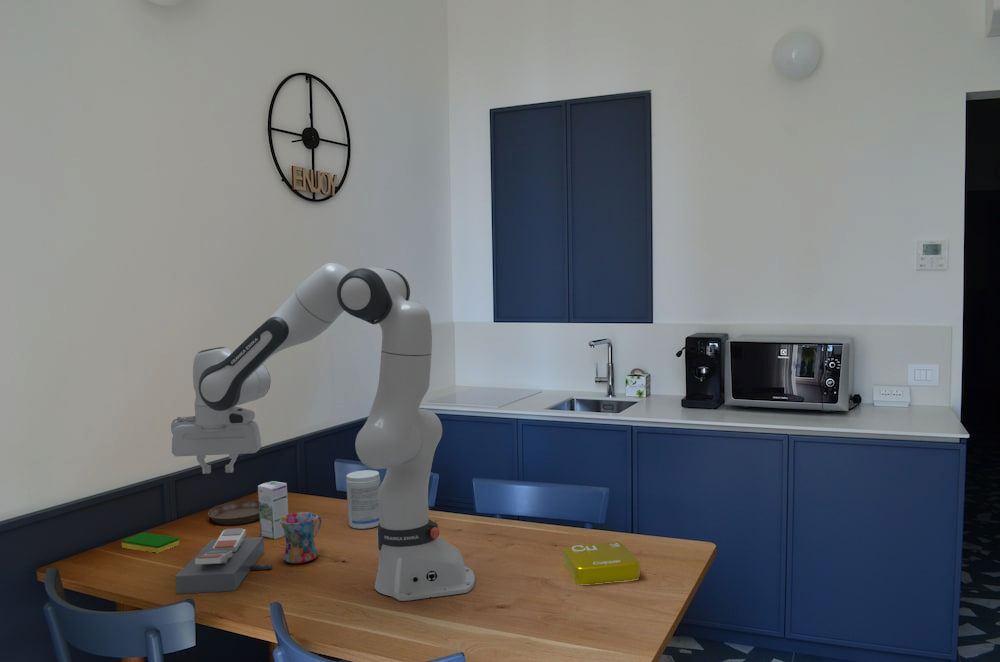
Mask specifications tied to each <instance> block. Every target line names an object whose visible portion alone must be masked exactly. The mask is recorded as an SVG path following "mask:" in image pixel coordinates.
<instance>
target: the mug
mask: <svg viewBox="0 0 1000 662" xmlns="http://www.w3.org/2000/svg"><path fill="white" fill-rule="evenodd" d="M279 521H280V523H281V525H282V527H283V530H284V533H285V536H284V537H285V551H284V554H283V557H282V559H283V561H284V562H287V563H288V564H289V563H291V564H303V563H308V562H310V561H314V560H315V559H316V558H317V557H318V556H319V553H318V550H317V548H316V546H315V540H314V539H315V538H316V536H317V535H318V534H319V531H320V529H321V526H322V521H323V520H322V518H321V517H320V516H319V515H318V514H317V513H314V512H307V511H305V512H304V511H303V512H294V513H290V514H289V513H288V515H286V516H283V517H282V518H280V520H279ZM317 521H318V525H317V524H316V523H317ZM316 525H317V528H316ZM315 528H316V531H315Z"/></svg>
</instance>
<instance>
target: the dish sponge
mask: <svg viewBox="0 0 1000 662" xmlns="http://www.w3.org/2000/svg"><path fill="white" fill-rule="evenodd" d="M177 545H178V546H180V537H175V536H170V535H163V534H156V533H155V534H154V533H150V532H140V533H138V534H136V535H135V534H134V535H132V536H130V537H126V538H124V539H121V548H123V549H127V550H135V551H140V552H146V551H148V552H147V553H152V552H156V553H155V554H160V553H159V552H161V553H163V552H165V551H164V550H166V551H168V550H170V548H171V549H173V548H175V547H174V546H176V547H178V546H177ZM172 547H173V548H172ZM167 549H168V550H167ZM162 551H163V552H162Z"/></svg>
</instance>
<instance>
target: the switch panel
mask: <svg viewBox="0 0 1000 662" xmlns="http://www.w3.org/2000/svg"><path fill="white" fill-rule="evenodd" d="M264 538H265V537H262V536H259V537H256V536H255V537H244V538H243V540H242V546H239V547H238V549H237V551H236V552H232V557H230V558H228V561H227V563H226V564H207V565H201V564H195V559H196V558H198V557H200V556H202V555H204V554H206V553H208V552H210V551H213V550H212V548H213V546H214V545H215V543H216V541H217V540H218V538H217V539H216V538H213V539H211V540H210V541H209V542H208V543H207V544H205V546H204V547H203V548H202V549H201V550H200V551H199V552H198V553H197V554H196V555H195V556H194V557H193V558H192V559H191V560H190V561H189V562H188V563H187V564H186V565H185V566H184V567H183V568H182V569H181V570H180V571H179V572H178V573H177V574H176V575H175V593H176V594H179V595H181V594H199V593H220V592H236V591H237V589H238V588H239V587H240V585H241V584H242V583H243V581H244V580H245V579H246V577H247V576H248V575H249V573H250V572H251V571H263V570H264V571H265V570H271V569H272V568H273V565H272V564H270V563H268V564H267V563H266V564H257V563H256V562H258V561H259V560H260V559H261V557H262V556H263V555H262V554H264V553H265V543H264V541H265V540H264ZM259 558H260V559H259ZM255 563H256V564H255ZM250 570H251V571H250ZM249 571H250V572H249ZM248 572H249V573H248ZM247 574H248V575H247ZM246 575H247V576H246ZM245 576H246V577H245ZM244 578H245V579H244ZM243 579H244V580H243ZM242 580H243V581H242ZM241 582H242V583H241ZM240 583H241V584H240ZM238 586H239V587H238Z"/></svg>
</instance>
